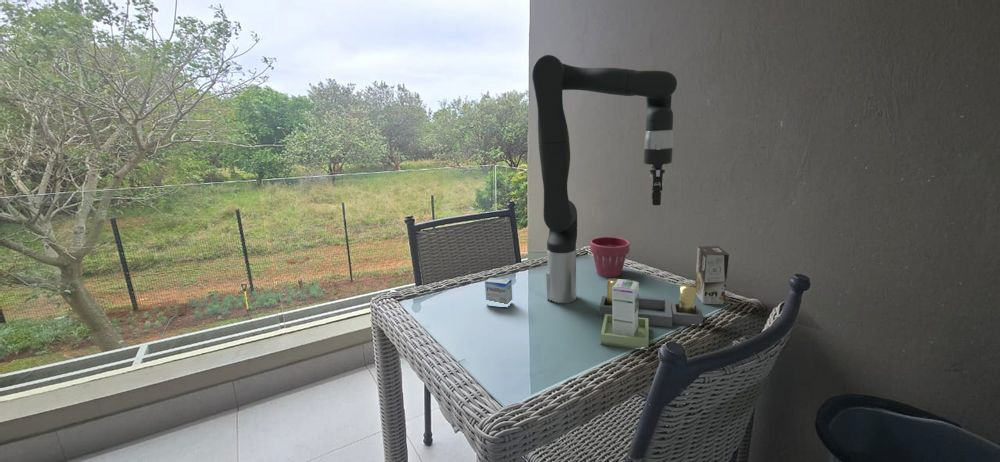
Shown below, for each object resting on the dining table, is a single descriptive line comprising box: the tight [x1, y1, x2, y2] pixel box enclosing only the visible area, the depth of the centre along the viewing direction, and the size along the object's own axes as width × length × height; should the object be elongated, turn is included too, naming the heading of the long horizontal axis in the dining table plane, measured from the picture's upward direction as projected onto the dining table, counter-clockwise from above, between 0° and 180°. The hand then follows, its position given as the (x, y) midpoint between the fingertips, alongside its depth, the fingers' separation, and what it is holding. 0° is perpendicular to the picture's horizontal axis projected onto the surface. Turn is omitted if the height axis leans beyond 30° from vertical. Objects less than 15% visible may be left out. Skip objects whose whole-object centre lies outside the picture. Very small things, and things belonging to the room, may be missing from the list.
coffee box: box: [694, 245, 730, 305], centre depth 119 cm, size 9×6×16 cm
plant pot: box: [589, 236, 630, 278], centre depth 145 cm, size 14×14×13 cm
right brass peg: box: [678, 283, 696, 314], centre depth 108 cm, size 4×4×10 cm
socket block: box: [599, 295, 704, 328], centre depth 113 cm, size 28×12×3 cm, turn 69°
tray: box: [600, 314, 650, 350], centre depth 102 cm, size 12×12×3 cm
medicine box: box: [484, 277, 513, 304], centre depth 125 cm, size 8×4×9 cm, turn 68°
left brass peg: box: [606, 277, 618, 306], centre depth 115 cm, size 4×4×10 cm
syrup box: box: [612, 278, 640, 337], centre depth 100 cm, size 6×6×14 cm
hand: (656, 202), depth 113 cm, fingers open, 8 cm apart
